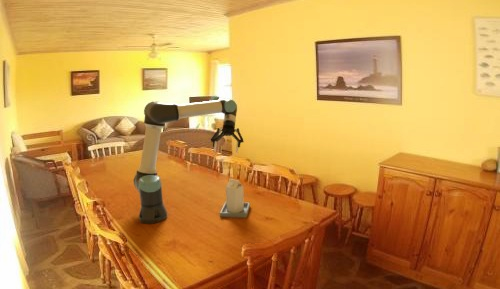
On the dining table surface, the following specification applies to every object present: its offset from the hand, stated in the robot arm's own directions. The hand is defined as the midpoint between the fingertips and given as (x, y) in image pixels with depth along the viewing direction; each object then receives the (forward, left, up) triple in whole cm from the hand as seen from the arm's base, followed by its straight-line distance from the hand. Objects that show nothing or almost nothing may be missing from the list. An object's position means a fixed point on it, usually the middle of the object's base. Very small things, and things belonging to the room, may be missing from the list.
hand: (225, 151), depth 181 cm
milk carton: (+7, -13, -32) cm, 35 cm away
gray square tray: (+7, -13, -33) cm, 36 cm away
